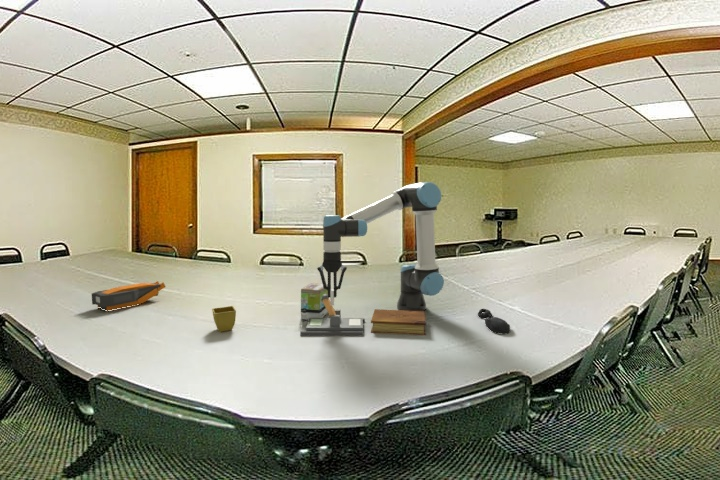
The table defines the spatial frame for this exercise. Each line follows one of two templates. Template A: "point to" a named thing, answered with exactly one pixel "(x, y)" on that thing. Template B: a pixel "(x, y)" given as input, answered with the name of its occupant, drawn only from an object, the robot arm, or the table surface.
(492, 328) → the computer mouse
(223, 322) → the flower pot
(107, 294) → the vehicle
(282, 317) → the table surface
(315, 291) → the tea box
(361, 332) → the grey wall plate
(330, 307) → the lever
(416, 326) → the diary
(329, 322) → the breaker panel
